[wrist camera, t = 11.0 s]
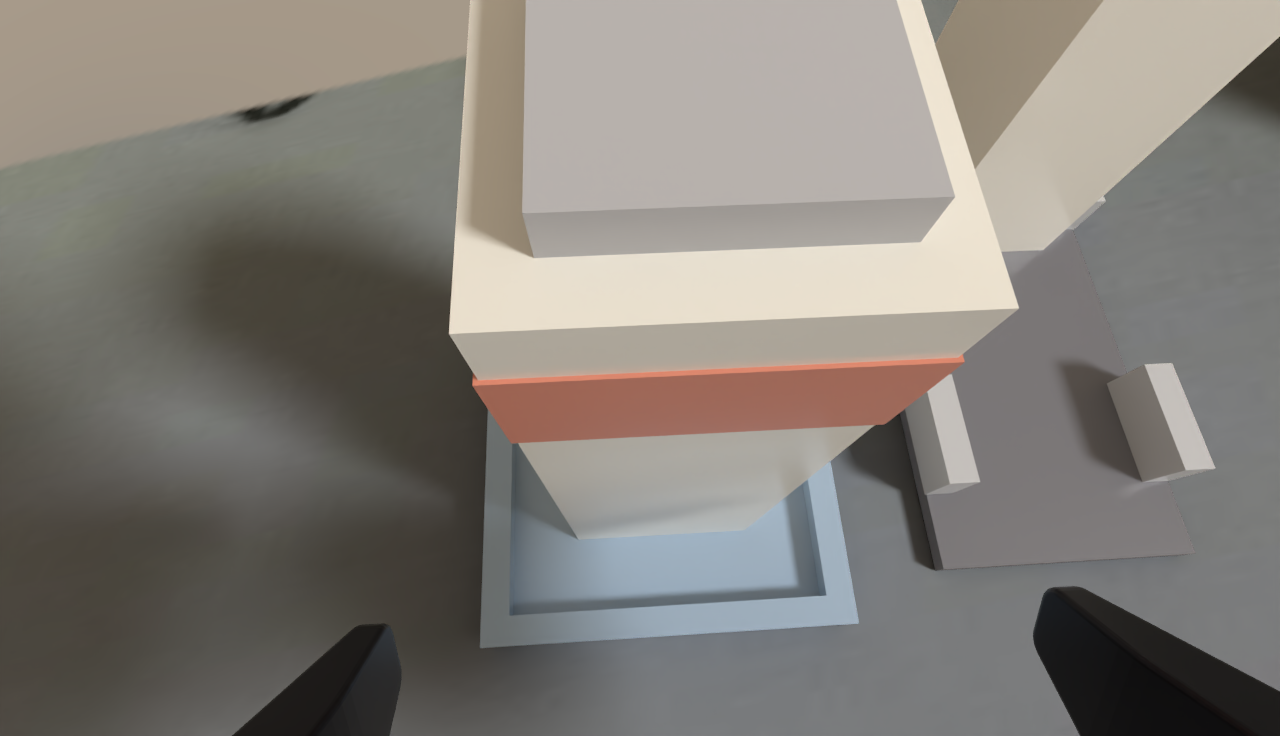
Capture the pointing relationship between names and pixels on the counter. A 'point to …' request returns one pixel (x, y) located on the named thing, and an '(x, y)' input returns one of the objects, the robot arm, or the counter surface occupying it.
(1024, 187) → the block
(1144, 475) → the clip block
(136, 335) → the counter surface
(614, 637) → the tray
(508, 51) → the block
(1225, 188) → the counter surface
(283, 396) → the counter surface
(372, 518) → the counter surface
